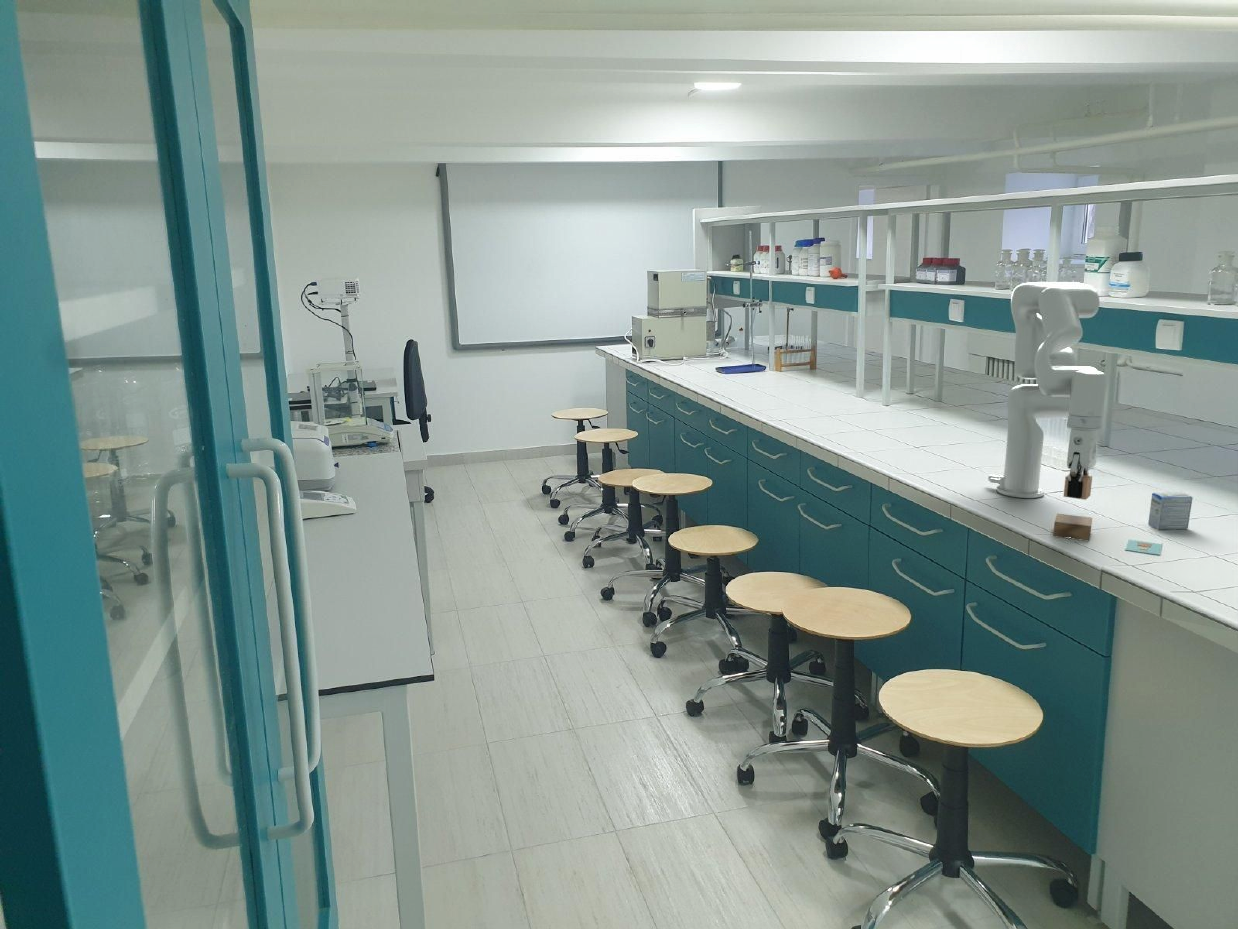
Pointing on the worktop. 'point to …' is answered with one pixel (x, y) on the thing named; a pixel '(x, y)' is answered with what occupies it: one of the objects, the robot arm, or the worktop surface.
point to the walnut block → (1072, 526)
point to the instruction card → (1143, 547)
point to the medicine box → (1170, 510)
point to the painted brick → (1085, 490)
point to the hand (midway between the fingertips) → (1076, 494)
